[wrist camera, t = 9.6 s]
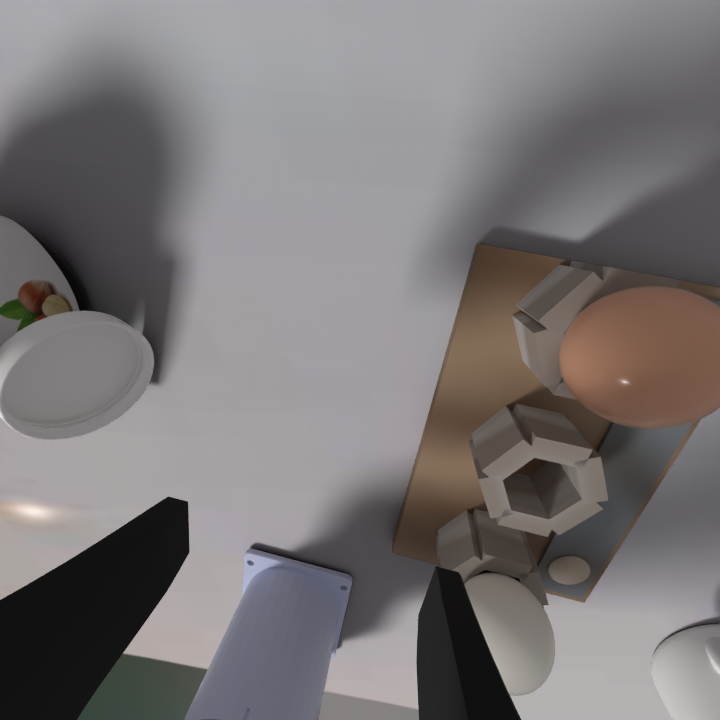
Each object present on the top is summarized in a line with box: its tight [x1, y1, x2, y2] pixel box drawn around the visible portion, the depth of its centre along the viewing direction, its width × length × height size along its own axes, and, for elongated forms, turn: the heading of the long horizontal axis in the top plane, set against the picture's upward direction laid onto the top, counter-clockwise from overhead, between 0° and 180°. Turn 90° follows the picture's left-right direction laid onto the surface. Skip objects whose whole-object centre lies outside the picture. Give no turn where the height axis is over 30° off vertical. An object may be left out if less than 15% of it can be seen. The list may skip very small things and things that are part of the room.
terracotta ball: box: [559, 286, 720, 429], centre depth 11 cm, size 4×4×4 cm
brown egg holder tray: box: [392, 243, 720, 608], centre depth 17 cm, size 19×12×4 cm, turn 170°
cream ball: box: [464, 573, 555, 696], centre depth 16 cm, size 4×4×4 cm
